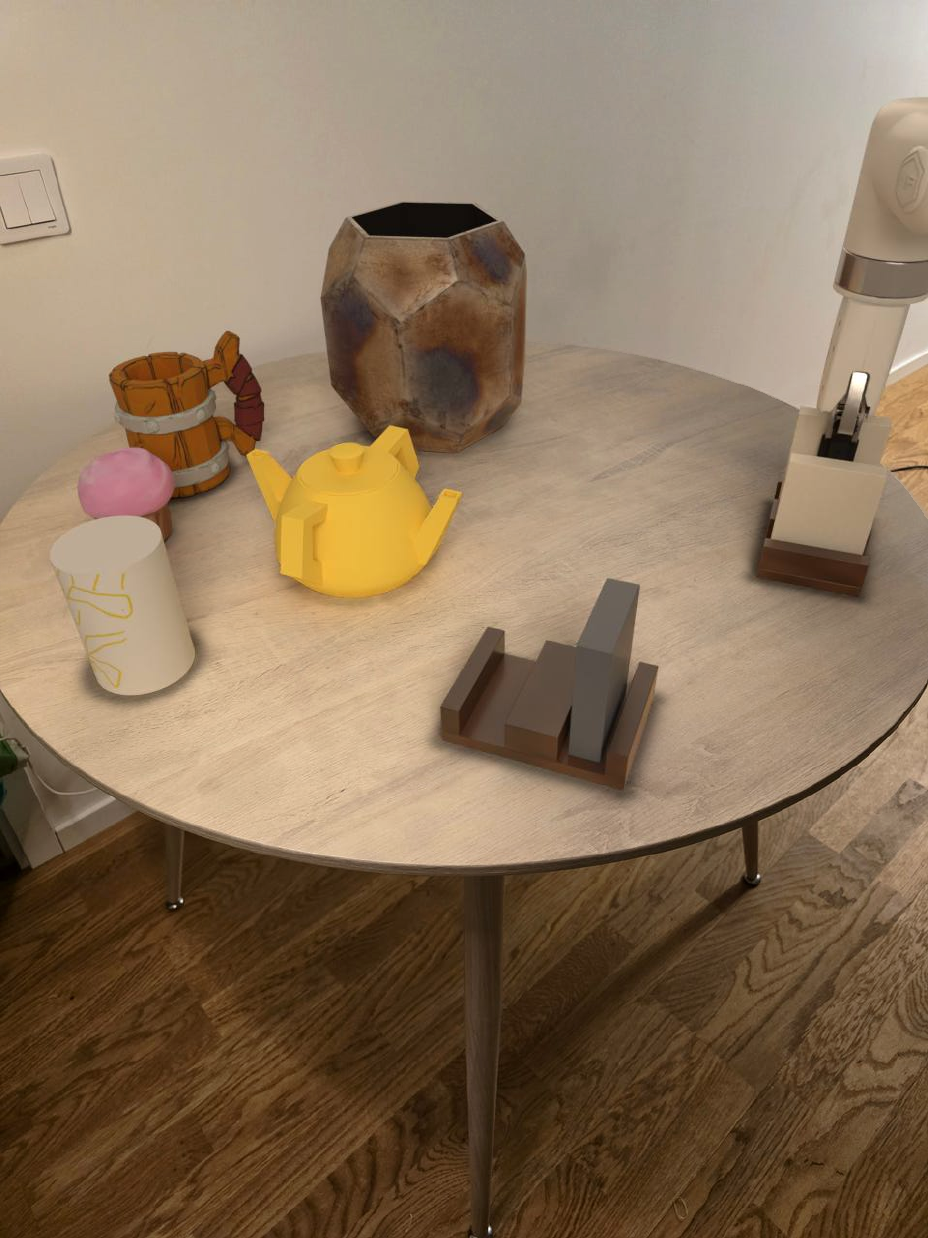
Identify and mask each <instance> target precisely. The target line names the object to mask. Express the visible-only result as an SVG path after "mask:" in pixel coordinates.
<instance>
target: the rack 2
mask: <svg viewBox="0 0 928 1238" xmlns="http://www.w3.org/2000/svg"><path fill="white" fill-rule="evenodd" d="M783 478H784V475H783V474H781V475H780V474H779V475H778V480H777V484H776V488H775V493H774V498H773V501H772V502H773V503H772V506H771V510H770V515H769V519H768V523H767V527H766V533H765V537H764V540H763V541H764V542H763V545H762V549H761V555H760V558H759V562H758V568H757V572H756V578H759V579H765V580H770V581H774V582H779V583H784V584H785V583H786V584H790V585H796V586H799V587H806V588H810V589H815V590H820V591H821V590H822V591H826V592H832V593H837V594H841V595H847V596H852V597H858V598H859V597H860V594H861V592H862V589H863V586H864V582H865V580H866V576H867V573H868V570H869V567H870V556H869V555H866V552H867V549H868V546H869V543H870V540H871V536H872V535H871V534H872V529H871V530H870V533H869V536H868V539H867V542H866V545H865V549H864V552H863V555H858V554H853V553H847V552H841V551H836V550H830V549H825V548H819V547H814V546H808V545H802V544H797V543H791V542H786V541H780V540H775V539H771V535H772V531H773V527H774V522H775V518H776V514H777V510H778V506H779V501H780V500H779V495H780V491H781V487H782V483H783Z"/></svg>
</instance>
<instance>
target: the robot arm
mask: <svg viewBox="0 0 928 1238" xmlns="http://www.w3.org/2000/svg"><path fill="white" fill-rule="evenodd" d="M837 263H838V264H837V268H836V271H835V276H834V280H833V284H832V288H833V290H834V291H835V292H836V293H837V294H839V295H841V296H842V298H841V301H840V305H839V309H838V312H837V314H836V319H835V323H834V325H833V326H834V327H833V331H832V334H831V338H830V342H829V346H828V351H827V354H826V355H827V356H826V359H825V362H824V367H823V371H822V375H821V377H820V378H821V379H820V383H819V388H818V393H817V400H816V405H815V408H817V409H818V411H819V412H820V413H823V411H827V412H831V416H830V419H829V423H828V427H827V431H826V435H825V434H822V438H821V442H820V446H819V450H818V454H817V457H824V458H830V459H837V460H844V461H850V462H853V461H854V457H855V454H856V451H857V447H858V444H859V439H858V436H859V433H860V429H861V426H862V422H863V419H864V417H865V415H866V419H868V418H871V417H872V416H876V412H877V411H878V410H877V409H878V407H879V405H880V402H881V399H882V396H883V394H884V392H885V391H884V390H885V388H886V385H887V382H888V379H889V376H890V372H891V370H892V367H893V364H894V360H895V358H896V354H897V351H898V347H899V345H900V341H901V337H902V334H903V331H904V328H905V324H906V321H907V319H908V318H907V317H908V314H909V311H910V307H911V305H913V304H919V303H921V302H924V301H926V300H927V299H928V97H927V96H920V97H918V96H917V97H905V98H899V99H894V100H892V101H889V102H887V103H886V104H884V105H883V106H882V107H881V108H880V109H879V110H878V112H877V113H876V115H875V116H874V118H873V121H872V123H871V125H870V131H869V133H868V138H867V141H866V147H865V150H864V155H863V159H862V163H861V169H860V171H859V176H858V180H857V185H856V189H855V193H854V197H853V202H852V205H851V210H850V214H849V217H848V222H847V226H846V231H845V235H844V238H843V243H842V246H841V250H840V255H839V260H838V262H837ZM837 416H841V419H837V420H836V418H837Z"/></svg>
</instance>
